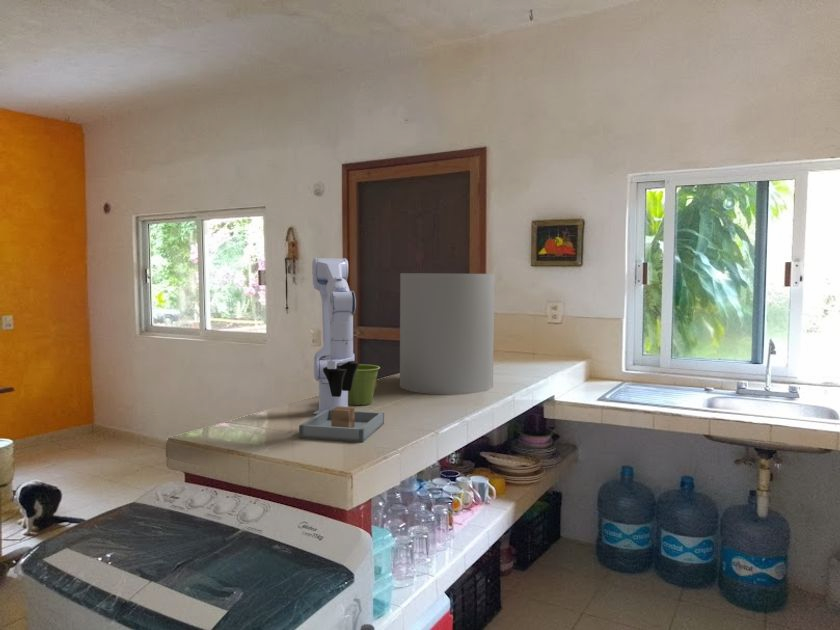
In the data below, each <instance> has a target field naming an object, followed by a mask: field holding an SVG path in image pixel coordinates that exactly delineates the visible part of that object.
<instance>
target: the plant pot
mask: <svg viewBox="0 0 840 630" xmlns="http://www.w3.org/2000/svg"><path fill="white" fill-rule="evenodd" d="M380 369H381V367H380V366H379V365H374V364H364V363H363V364H361V363H359V366H358V368H357V370H356V372H355V375H354V379H353V383H352V388H351V391H348V405H352V406H359V405H363V406H368V405H371V404H372V402H373V399H374V393H375V391H374V388H375V382H376V377H378V373H379V370H380Z"/></svg>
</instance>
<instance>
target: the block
mask: <svg viewBox="0 0 840 630" xmlns="http://www.w3.org/2000/svg"><path fill="white" fill-rule="evenodd" d="M355 408H356V407H355V406H348V407H344V406H337V407H335V408H334V409H332V410H331V426H333V427H348V428H353V427H354V426H355V411H356V410H355Z"/></svg>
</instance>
